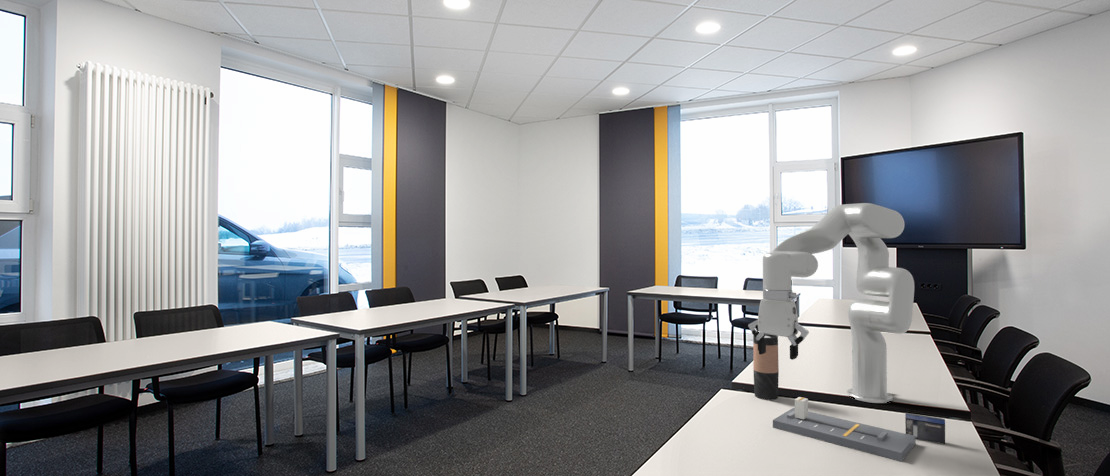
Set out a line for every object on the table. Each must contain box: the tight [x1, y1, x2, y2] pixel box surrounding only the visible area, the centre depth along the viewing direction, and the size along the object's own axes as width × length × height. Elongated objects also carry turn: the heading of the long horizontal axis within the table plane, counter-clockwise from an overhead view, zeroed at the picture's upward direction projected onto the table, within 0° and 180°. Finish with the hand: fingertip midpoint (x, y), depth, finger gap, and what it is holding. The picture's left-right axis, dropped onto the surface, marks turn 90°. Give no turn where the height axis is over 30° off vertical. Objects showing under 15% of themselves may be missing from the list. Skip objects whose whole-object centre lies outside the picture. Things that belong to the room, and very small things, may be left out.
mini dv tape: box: [904, 412, 946, 445], centre depth 130 cm, size 8×2×6 cm, turn 55°
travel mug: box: [752, 334, 780, 401], centre depth 167 cm, size 8×8×20 cm
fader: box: [794, 396, 809, 419], centre depth 141 cm, size 3×2×5 cm
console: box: [772, 407, 917, 462], centre depth 134 cm, size 14×30×3 cm, turn 43°
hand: (777, 355), depth 146 cm, fingers open, 8 cm apart
